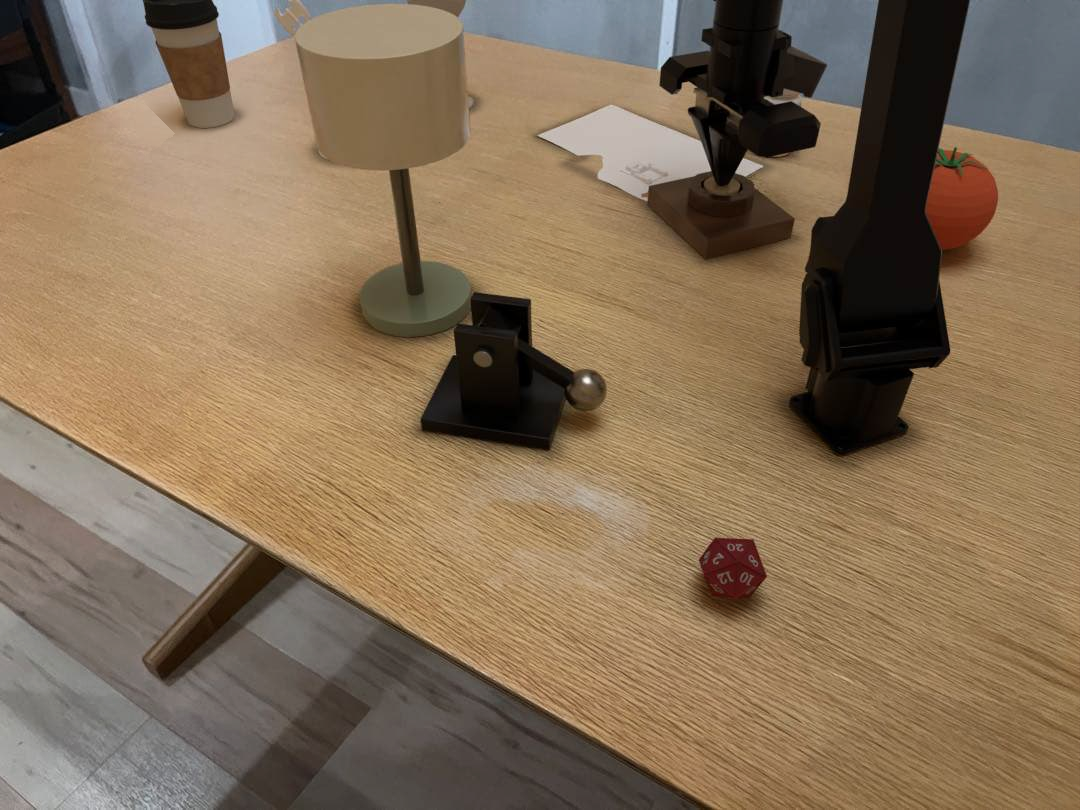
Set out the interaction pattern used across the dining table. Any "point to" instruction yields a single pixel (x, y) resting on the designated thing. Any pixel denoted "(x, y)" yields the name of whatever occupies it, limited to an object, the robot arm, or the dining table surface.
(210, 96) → the coffee cup
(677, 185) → the dimmer box
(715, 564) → the dice
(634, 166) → the white flat sheet
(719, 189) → the button
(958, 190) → the tomato
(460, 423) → the switch bracket
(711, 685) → the dining table surface
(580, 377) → the lever
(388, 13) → the lamp
